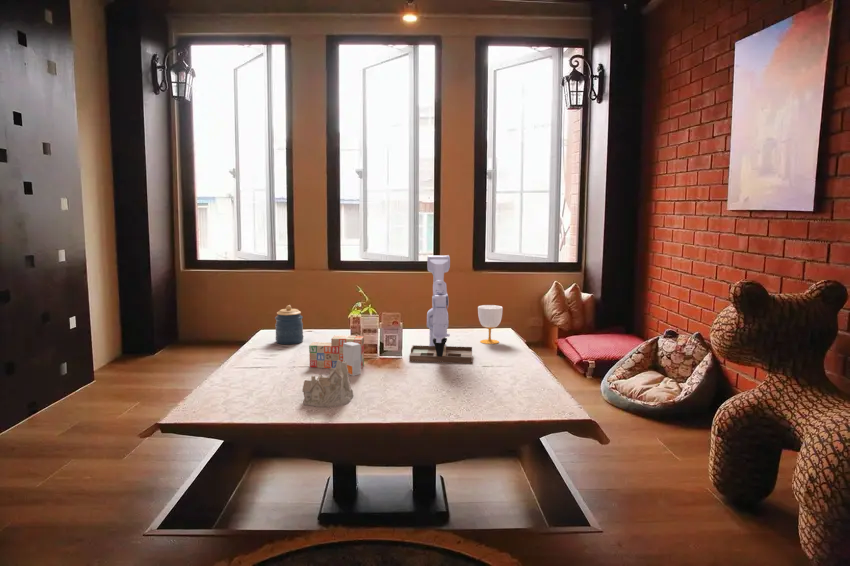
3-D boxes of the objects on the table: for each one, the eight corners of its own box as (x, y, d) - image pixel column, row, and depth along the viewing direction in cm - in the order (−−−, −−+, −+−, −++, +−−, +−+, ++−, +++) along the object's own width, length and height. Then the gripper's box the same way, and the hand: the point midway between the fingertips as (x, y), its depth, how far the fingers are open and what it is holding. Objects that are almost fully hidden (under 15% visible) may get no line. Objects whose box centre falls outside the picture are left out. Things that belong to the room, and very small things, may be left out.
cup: (477, 338, 297) (478, 304, 295) (502, 339, 296) (502, 305, 294) (476, 344, 286) (477, 308, 284) (501, 345, 284) (502, 309, 282)
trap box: (412, 354, 267) (412, 345, 266) (471, 355, 264) (472, 346, 264) (409, 361, 255) (409, 352, 254) (471, 363, 253) (471, 353, 252)
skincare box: (342, 373, 237) (342, 343, 236) (351, 370, 240) (350, 341, 239) (353, 376, 233) (352, 345, 231) (361, 373, 236) (361, 343, 235)
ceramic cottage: (358, 393, 212) (355, 351, 210) (342, 410, 196) (338, 365, 194) (317, 392, 216) (313, 351, 213) (297, 409, 200) (293, 365, 198)
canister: (294, 337, 299) (293, 302, 296) (308, 342, 289) (307, 305, 287) (270, 341, 290) (269, 305, 288) (284, 346, 281) (283, 308, 278)
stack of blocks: (309, 367, 245) (308, 337, 243) (313, 363, 251) (312, 334, 249) (361, 369, 243) (361, 339, 242) (364, 365, 250) (364, 335, 248)
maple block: (436, 353, 259) (436, 344, 258) (445, 353, 258) (445, 344, 258) (435, 355, 255) (435, 346, 254) (445, 355, 254) (445, 346, 254)
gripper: (448, 327, 241) (448, 360, 243) (450, 320, 255) (450, 352, 257) (431, 327, 241) (430, 360, 243) (434, 320, 256) (433, 351, 258)
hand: (439, 356), depth 250 cm, fingers closed
